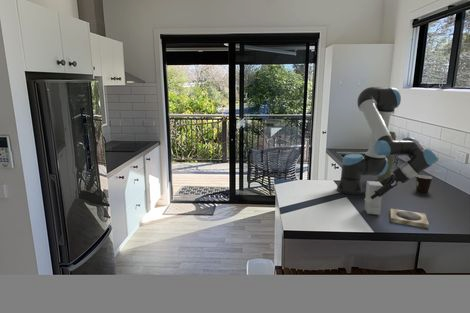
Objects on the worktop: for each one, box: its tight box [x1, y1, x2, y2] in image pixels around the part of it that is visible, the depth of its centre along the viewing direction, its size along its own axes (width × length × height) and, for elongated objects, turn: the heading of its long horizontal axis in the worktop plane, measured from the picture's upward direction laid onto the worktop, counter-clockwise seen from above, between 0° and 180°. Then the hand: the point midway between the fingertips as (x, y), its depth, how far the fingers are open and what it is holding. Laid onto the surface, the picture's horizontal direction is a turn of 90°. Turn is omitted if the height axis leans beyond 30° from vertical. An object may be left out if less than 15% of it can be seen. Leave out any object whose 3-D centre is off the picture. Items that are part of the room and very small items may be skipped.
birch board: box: [389, 208, 430, 229], centre depth 157 cm, size 16×14×2 cm
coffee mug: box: [415, 174, 433, 195], centre depth 200 cm, size 12×9×10 cm
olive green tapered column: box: [377, 131, 397, 182], centre depth 218 cm, size 9×12×35 cm
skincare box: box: [364, 180, 383, 216], centre depth 163 cm, size 8×7×16 cm
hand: (366, 198), depth 165 cm, fingers closed on skincare box, 9 cm apart
